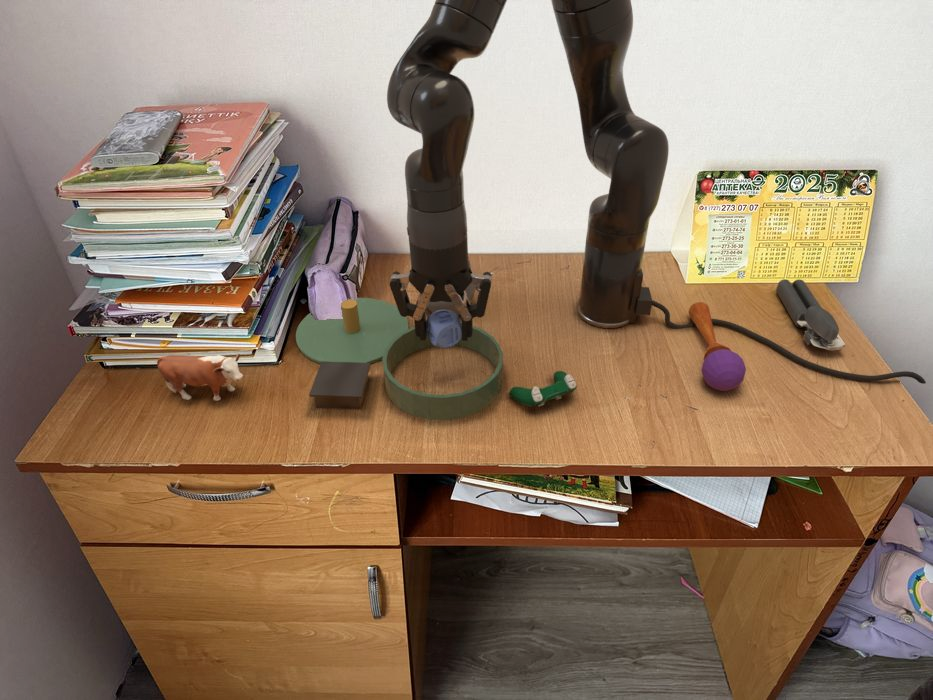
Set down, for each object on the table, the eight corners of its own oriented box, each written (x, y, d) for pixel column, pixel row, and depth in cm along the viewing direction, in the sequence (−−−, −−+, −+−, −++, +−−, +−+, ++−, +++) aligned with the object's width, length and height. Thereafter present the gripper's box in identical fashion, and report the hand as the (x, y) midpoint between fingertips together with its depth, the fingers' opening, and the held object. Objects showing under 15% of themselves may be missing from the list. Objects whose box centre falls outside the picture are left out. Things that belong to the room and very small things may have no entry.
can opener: (844, 359, 104) (858, 326, 100) (811, 359, 104) (824, 326, 100) (801, 291, 119) (811, 260, 115) (771, 291, 119) (781, 260, 115)
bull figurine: (247, 412, 97) (234, 369, 92) (163, 400, 99) (145, 357, 94) (260, 392, 100) (249, 349, 95) (178, 381, 102) (163, 339, 97)
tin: (503, 347, 108) (504, 322, 105) (501, 424, 94) (501, 399, 91) (394, 344, 109) (392, 320, 106) (376, 420, 95) (373, 395, 92)
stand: (375, 379, 102) (372, 361, 100) (365, 416, 96) (362, 397, 94) (323, 377, 102) (319, 359, 100) (310, 414, 96) (306, 396, 94)
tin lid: (415, 304, 118) (413, 274, 114) (401, 372, 103) (397, 340, 99) (312, 302, 119) (306, 272, 115) (283, 368, 104) (275, 337, 100)
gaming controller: (514, 414, 98) (531, 411, 92) (505, 389, 98) (522, 385, 93) (567, 394, 101) (586, 389, 96) (558, 370, 102) (577, 364, 96)
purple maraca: (723, 298, 110) (757, 369, 94) (709, 328, 114) (740, 402, 97) (687, 291, 110) (716, 361, 94) (675, 322, 114) (700, 394, 97)
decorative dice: (437, 351, 94) (435, 328, 92) (426, 336, 97) (424, 313, 95) (463, 343, 96) (462, 320, 93) (451, 328, 99) (450, 306, 96)
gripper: (494, 218, 88) (495, 322, 99) (386, 218, 89) (398, 321, 100) (493, 247, 82) (493, 354, 93) (377, 247, 83) (390, 353, 94)
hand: (444, 337), depth 96 cm, fingers closed on decorative dice, 5 cm apart
